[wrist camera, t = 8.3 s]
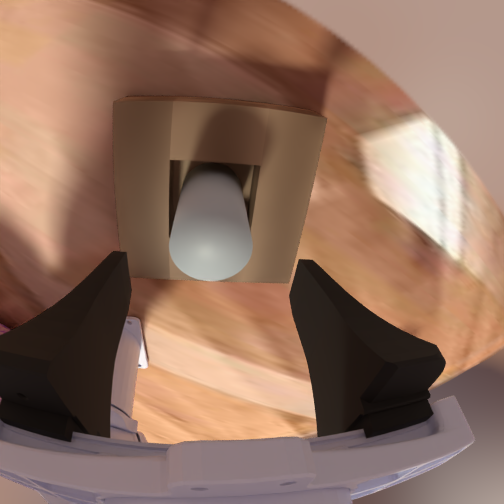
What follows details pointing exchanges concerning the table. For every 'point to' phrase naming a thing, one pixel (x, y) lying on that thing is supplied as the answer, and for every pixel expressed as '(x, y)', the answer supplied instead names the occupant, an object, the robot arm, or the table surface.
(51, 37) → the table surface
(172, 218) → the walnut socket block
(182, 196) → the peg
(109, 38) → the table surface
